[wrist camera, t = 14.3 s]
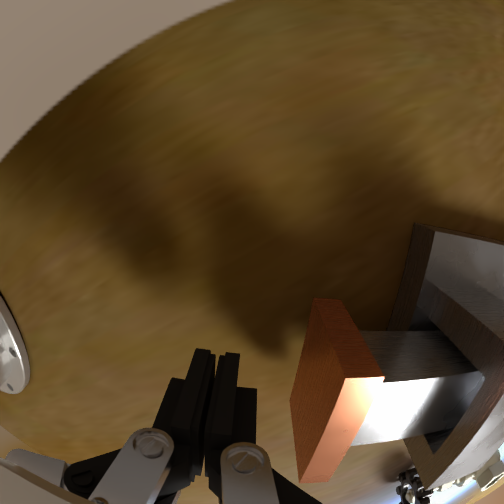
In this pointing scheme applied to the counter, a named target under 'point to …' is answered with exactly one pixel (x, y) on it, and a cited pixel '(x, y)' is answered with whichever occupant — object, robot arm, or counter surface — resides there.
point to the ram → (371, 388)
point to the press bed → (444, 269)
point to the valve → (417, 493)
